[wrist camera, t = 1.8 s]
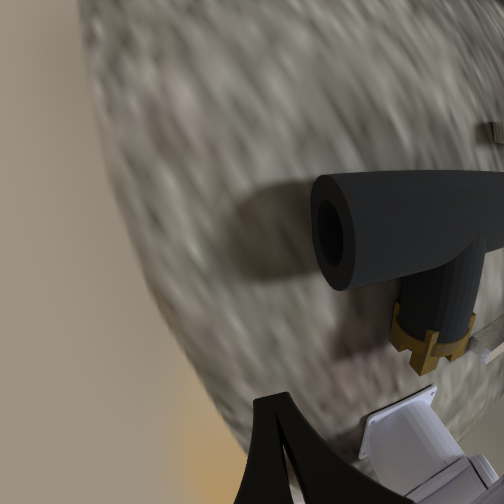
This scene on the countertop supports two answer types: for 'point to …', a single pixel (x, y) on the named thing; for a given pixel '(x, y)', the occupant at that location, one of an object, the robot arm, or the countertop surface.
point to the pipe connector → (412, 247)
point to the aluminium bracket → (500, 331)
